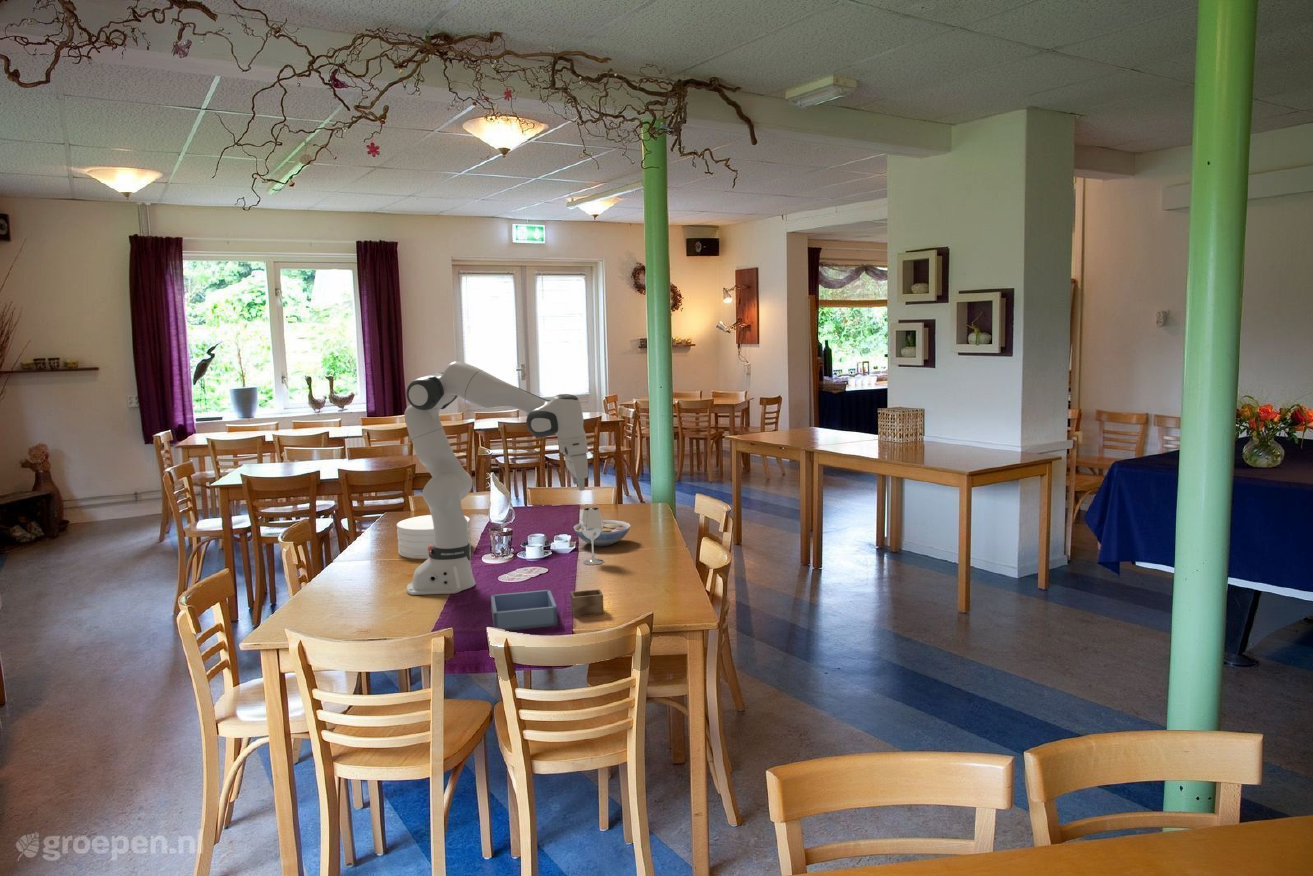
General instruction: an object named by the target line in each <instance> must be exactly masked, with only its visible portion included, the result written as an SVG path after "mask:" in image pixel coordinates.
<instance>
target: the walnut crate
mask: <svg viewBox="0 0 1313 876" xmlns="http://www.w3.org/2000/svg"><path fill="white" fill-rule="evenodd" d="M569 593H570V612H571V614H572V617H573V618H581V617H589V616H590V617H591V616H592V617H593V616H601V615H604V613H605V612H604V595H603V593H602V591H601V589H599V588H598V589H588V590H576V591H570V592H569Z"/></svg>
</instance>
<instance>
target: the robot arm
mask: <svg viewBox="0 0 1313 876" xmlns="http://www.w3.org/2000/svg"><path fill="white" fill-rule="evenodd" d="M405 392H406V393H405V394H406V399H407V402H408V403H409V405H408V406H407V408H405V410H404V415H403V416H404V420H405V424H406V429H407V433H408V435H409V437H410V438H409V439H410V440H411V443H412V445H413V449H414V451H415V453H416V456H417V459H418V461H419V463H420V464H422V465H423V466H424V468H425V469H426V470H427V472H428V473H429V474H430V475H431V478H430V479H429V480H428V481H427V483H426V484H425V485H424V487H423V490H422V497H423V500H424V502H425V503H426V504H427V505H428V509H429V512H430V515H431V516H432V520H433V526H434V540H435V545H434V546H433V545H429V547H428V551H429V558H426V560H425V561H424V562H423V563H420V565H419V566H417V568H416V569H415V571H414V573H413V577H412V581H411V582H410V583H408V584H407V586H406V593H407V594H409V595H411V596H416V595H417V596H419V595H447V594H449V595H450V594H457V593H460V592H461V591H464V590H467V589H471V588H472V587H474V586H475V585H476V581H475V577H474V575H473V570H472V565H471V558H472V557H471V556H472V554H471V553H472V552H471V548H470V544H469V543H468V526H467V520H466V518H465V517H464V516H465V515H464V511H463V508H462V500H464V499H465V498H466V497H467V496H468V495H469V493H470V492H471V491H472V488H473V479H472V476H471V474H470V473H468V471H466V470H465V469H464V467H463V466H462V464H461V462H460V461H459V459H458V458H457V456H456V455H455V453H454V451H453V449H452V447H451V443H449V440H448V437H447V435H446V431H445V430H444V427H443V424H442V422H441V419H440V415H439V414H440V410H444V409H446V408H447V407H448V406H450V405H451V404H452V403H453V402H454V401H455V400H456V399H457V398H458V397H459V398H460V399H461V398H462V399H463V400H465V401H467V402H469V403H471V404H473V405H475V406H477V407H478V406H479V407H482V408H484V409H485V408H486V409H487V408H488V409H490V408H495V407H497V408H498V407H511V408H516V409H519V410H520V411H523V412H525V413H527V417H526V420H525V421H526V424H525V425H526V428H527V430H528V432H529V433H530V434H531V435H532V436H534V437H535V438H538V439H541V438H542V439H543V438H547V437H550V436H553V435H556V436H557V441H558V448H559V452H560V453H561V454H563V455H564V460H565V461H564V463H565V467H566V469H568V471H569V472H570V475H571V478H572V484H573V485H577V489H578V491H585V489H586V488H585V479H587V478H588V477H589V464H588V463H589V461H588V453H589V447H588V442H587V436H586V431H585V428H584V422H585V421H584V414H583V409H582V405H581V402H580V399H579V398H578V397H577V395H574V394H568V393H564V394H562V393H561V394H556V395H555V396H554V397H553V398H552V399H546V398H543V397H540V396H538V395H536V394H534V393H531V392H529V391H527V390H525V389H522V388H520V387H518V386H514V385H512V384H510V383H508V382H506V381H504V380H503V379H500V378H498V377H496V376H494V375H492V374H490V373H489V372H486V371H485V370H483V369H481V368H479V367H476V366H474V365H471V364H468V363H466V362H463V361H452V362H450V363H448V364H447V365H446V367H445V368H444V370H443V372H439V373H430V374H427V375H425V376H421V377H418V378H415V379H413V380H412V381H411V382H410V383H409V385H408V386H407V389H406V391H405Z"/></svg>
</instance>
